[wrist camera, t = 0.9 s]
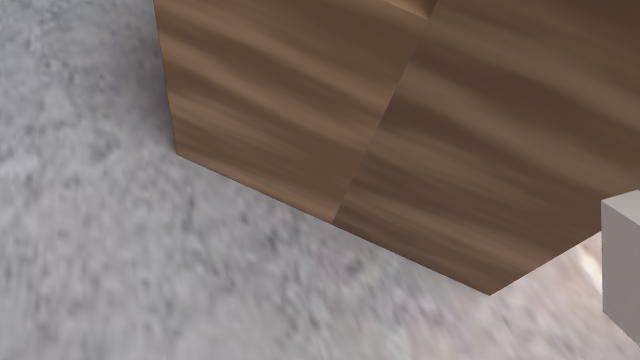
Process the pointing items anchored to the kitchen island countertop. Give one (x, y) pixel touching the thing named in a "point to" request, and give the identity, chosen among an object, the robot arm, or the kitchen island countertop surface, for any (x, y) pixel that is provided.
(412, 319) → the kitchen island countertop surface
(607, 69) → the two tier stand
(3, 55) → the kitchen island countertop surface
